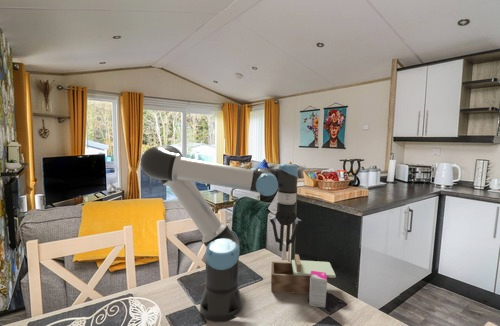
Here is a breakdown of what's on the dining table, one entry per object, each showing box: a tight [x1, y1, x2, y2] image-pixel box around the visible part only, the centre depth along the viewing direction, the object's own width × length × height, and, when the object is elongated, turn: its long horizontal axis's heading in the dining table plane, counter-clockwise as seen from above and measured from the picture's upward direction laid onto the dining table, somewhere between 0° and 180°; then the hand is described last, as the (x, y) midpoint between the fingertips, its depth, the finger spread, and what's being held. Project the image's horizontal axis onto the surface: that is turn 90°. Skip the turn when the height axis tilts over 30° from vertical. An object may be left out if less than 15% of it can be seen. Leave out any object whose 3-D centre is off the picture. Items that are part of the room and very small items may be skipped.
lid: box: [291, 253, 337, 279], centre depth 106 cm, size 16×11×4 cm
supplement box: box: [308, 271, 328, 308], centre depth 96 cm, size 6×6×12 cm
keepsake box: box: [270, 261, 310, 295], centre depth 107 cm, size 16×11×8 cm
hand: (283, 258), depth 107 cm, fingers closed
